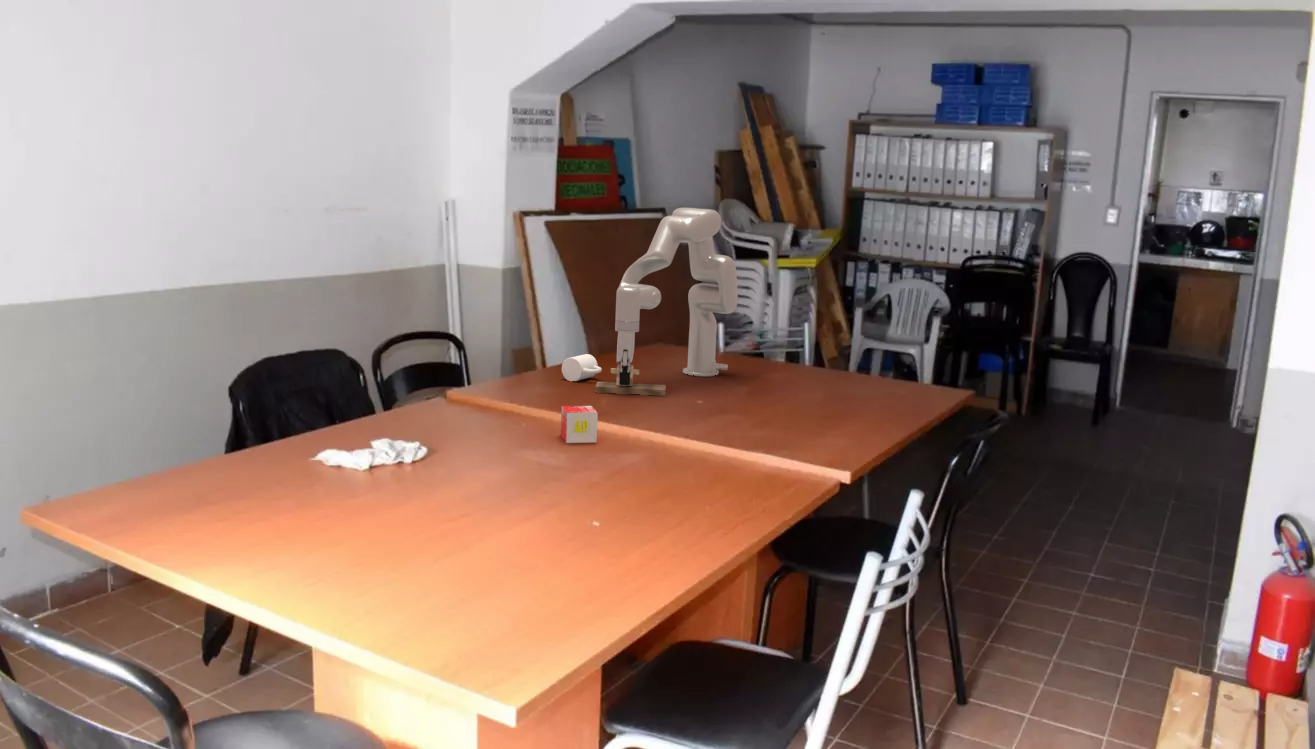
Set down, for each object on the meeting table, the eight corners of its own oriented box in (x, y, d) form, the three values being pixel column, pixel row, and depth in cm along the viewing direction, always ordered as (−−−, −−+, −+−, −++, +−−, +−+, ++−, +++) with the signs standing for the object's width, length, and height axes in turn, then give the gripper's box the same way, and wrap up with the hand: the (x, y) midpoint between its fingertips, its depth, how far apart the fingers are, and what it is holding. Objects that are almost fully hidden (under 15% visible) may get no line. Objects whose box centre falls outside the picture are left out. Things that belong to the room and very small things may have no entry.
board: (665, 391, 347) (665, 384, 346) (665, 396, 339) (665, 389, 338) (597, 387, 347) (597, 381, 346) (595, 392, 339) (595, 386, 338)
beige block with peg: (638, 383, 344) (639, 362, 343) (638, 386, 340) (639, 365, 339) (610, 382, 344) (611, 361, 343) (609, 385, 340) (610, 363, 339)
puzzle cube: (566, 443, 276) (567, 413, 275) (560, 435, 284) (561, 406, 282) (596, 442, 278) (597, 412, 277) (590, 435, 286) (591, 405, 284)
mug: (560, 380, 357) (561, 356, 356) (577, 375, 366) (578, 352, 364) (591, 384, 351) (592, 360, 350) (607, 380, 360) (608, 357, 359)
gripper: (616, 321, 347) (614, 377, 351) (613, 329, 331) (611, 387, 334) (639, 322, 347) (637, 378, 351) (638, 330, 331) (635, 389, 334)
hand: (624, 382), depth 342 cm, fingers closed on beige block with peg, 4 cm apart
